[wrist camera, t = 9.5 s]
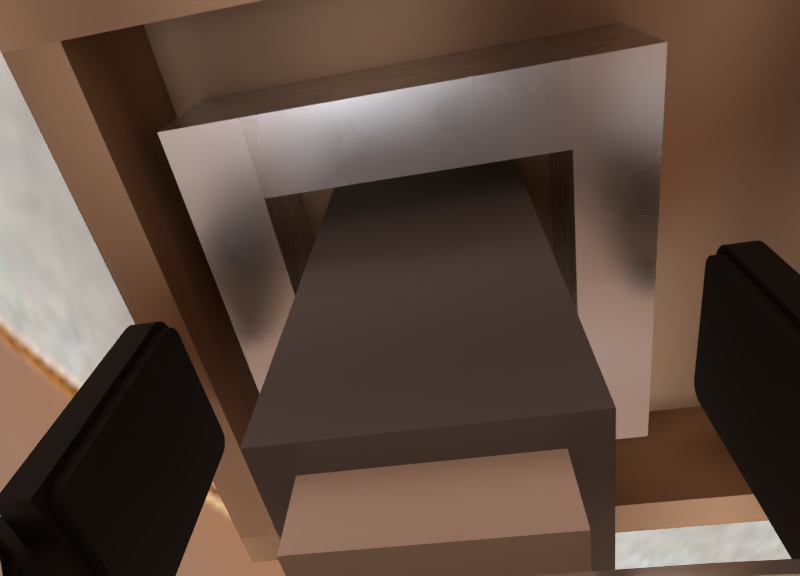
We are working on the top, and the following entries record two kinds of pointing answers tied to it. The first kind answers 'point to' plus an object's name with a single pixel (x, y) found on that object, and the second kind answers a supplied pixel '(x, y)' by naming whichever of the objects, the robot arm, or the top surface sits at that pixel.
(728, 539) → the top surface
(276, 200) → the socket
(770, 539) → the top surface
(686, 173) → the walnut box
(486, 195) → the plug
